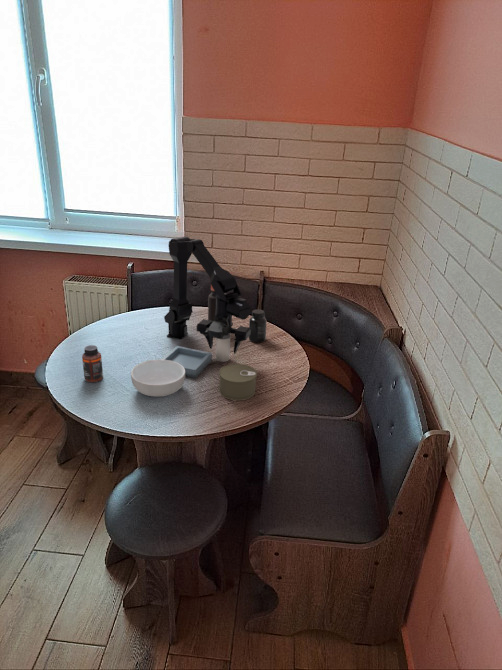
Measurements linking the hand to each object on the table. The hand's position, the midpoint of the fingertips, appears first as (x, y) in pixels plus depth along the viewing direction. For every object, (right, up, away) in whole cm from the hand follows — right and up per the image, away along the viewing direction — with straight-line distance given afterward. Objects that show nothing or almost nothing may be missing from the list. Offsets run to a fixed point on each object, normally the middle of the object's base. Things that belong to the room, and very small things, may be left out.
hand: (222, 351), depth 179 cm
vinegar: (-4, +7, +24) cm, 25 cm away
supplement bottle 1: (-42, -9, -16) cm, 45 cm away
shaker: (0, -3, +1) cm, 3 cm away
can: (+6, -13, -19) cm, 23 cm away
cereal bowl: (-19, -12, -21) cm, 31 cm away
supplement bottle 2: (+12, +4, +18) cm, 22 cm away
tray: (-13, -5, -5) cm, 14 cm away
